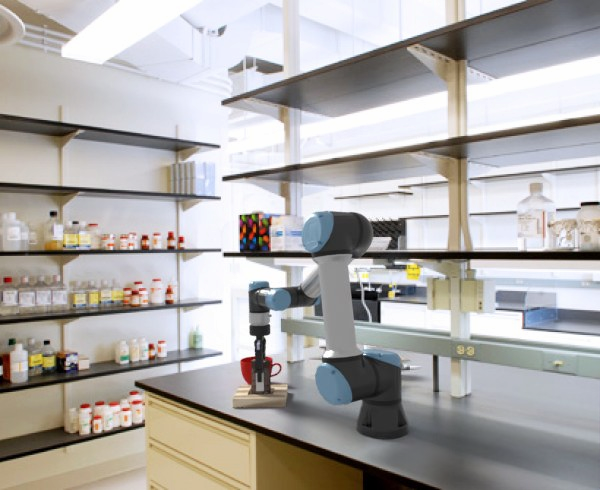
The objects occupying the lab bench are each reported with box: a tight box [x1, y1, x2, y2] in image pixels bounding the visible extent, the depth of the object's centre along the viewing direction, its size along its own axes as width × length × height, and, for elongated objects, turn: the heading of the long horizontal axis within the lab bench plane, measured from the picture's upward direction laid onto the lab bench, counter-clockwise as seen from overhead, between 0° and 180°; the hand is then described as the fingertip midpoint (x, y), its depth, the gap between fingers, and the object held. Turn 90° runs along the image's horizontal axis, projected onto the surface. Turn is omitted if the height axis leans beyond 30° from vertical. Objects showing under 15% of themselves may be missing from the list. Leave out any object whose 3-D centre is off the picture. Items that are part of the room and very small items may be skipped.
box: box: [251, 359, 272, 395], centre depth 177 cm, size 6×4×12 cm
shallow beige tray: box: [232, 384, 289, 409], centre depth 177 cm, size 17×18×3 cm
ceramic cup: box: [239, 355, 283, 385], centre depth 197 cm, size 13×17×10 cm
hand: (261, 387), depth 177 cm, fingers closed on box, 6 cm apart
